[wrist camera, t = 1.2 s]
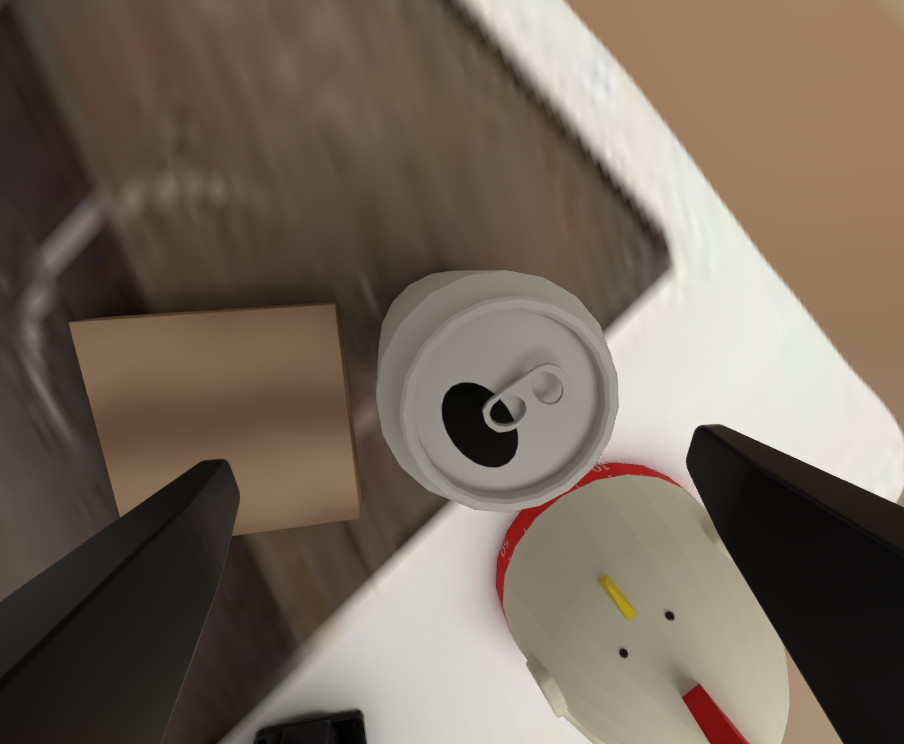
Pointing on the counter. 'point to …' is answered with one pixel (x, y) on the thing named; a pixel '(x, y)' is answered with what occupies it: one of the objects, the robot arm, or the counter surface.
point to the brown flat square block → (227, 407)
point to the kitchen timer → (640, 616)
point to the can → (494, 387)
